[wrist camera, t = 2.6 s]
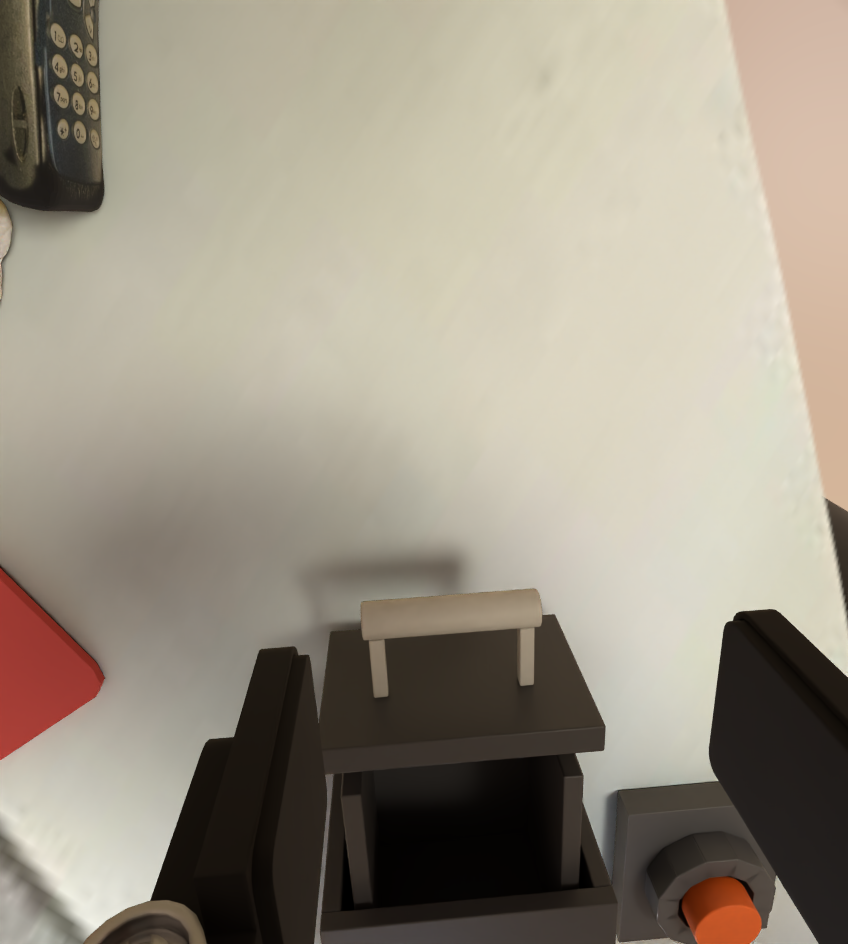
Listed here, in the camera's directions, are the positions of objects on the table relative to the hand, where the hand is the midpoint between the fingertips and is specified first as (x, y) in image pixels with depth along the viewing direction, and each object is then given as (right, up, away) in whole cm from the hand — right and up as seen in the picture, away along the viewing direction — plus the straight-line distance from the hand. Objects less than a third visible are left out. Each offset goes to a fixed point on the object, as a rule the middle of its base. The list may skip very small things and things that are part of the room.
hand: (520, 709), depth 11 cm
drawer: (0, -8, +23) cm, 24 cm away
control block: (+14, -19, +29) cm, 37 cm away
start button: (+14, -20, +26) cm, 35 cm away
